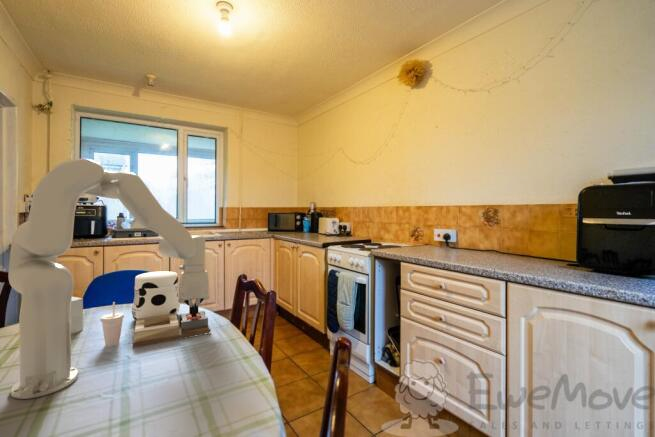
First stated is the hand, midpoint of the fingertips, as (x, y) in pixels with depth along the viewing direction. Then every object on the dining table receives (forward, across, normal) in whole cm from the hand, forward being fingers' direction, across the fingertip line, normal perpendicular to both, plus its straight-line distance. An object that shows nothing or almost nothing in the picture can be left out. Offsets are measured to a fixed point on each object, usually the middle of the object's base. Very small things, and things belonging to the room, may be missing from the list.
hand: (193, 315), depth 112 cm
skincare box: (+5, -39, +18) cm, 43 cm away
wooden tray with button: (+5, -7, 0) cm, 9 cm away
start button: (+3, 0, 0) cm, 3 cm away
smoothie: (+5, -25, -1) cm, 26 cm away
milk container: (+5, -12, +19) cm, 23 cm away
